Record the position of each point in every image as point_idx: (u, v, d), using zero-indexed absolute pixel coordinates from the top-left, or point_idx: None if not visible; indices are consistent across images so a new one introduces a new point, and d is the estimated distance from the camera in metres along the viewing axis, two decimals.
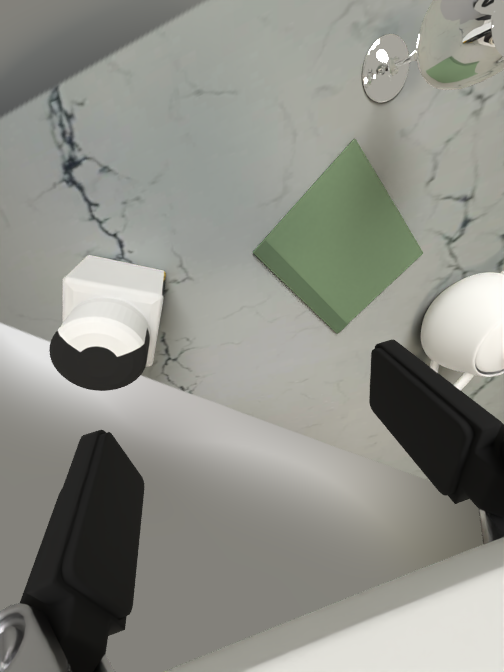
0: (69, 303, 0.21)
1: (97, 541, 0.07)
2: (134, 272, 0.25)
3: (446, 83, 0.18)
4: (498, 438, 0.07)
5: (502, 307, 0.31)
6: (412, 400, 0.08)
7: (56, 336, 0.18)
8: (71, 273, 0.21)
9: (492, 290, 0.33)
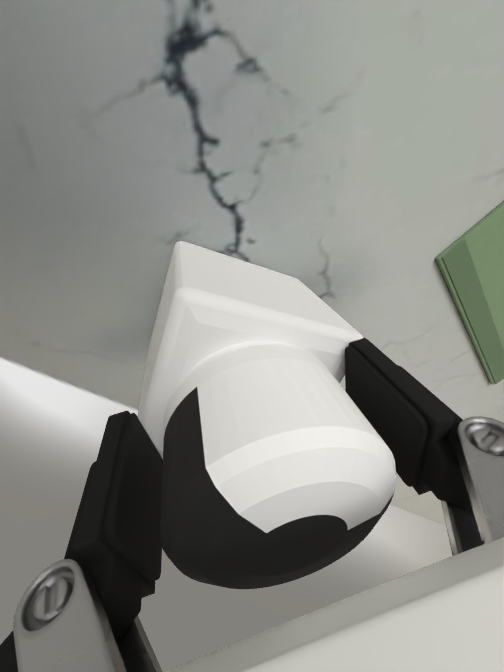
0: (179, 350, 0.09)
1: (130, 509, 0.07)
2: (272, 280, 0.13)
3: None
4: (454, 431, 0.07)
5: None
6: (379, 396, 0.09)
7: (202, 488, 0.05)
8: (187, 277, 0.09)
9: None
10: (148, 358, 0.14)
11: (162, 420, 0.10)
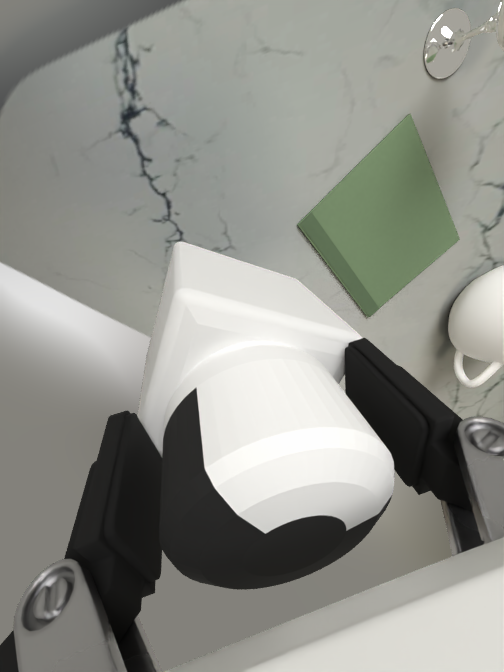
0: (179, 351, 0.09)
1: (130, 509, 0.07)
2: (271, 281, 0.13)
3: None
4: (454, 431, 0.07)
5: None
6: (379, 395, 0.09)
7: (201, 489, 0.05)
8: (186, 278, 0.09)
9: None
10: (148, 358, 0.14)
11: (162, 421, 0.10)
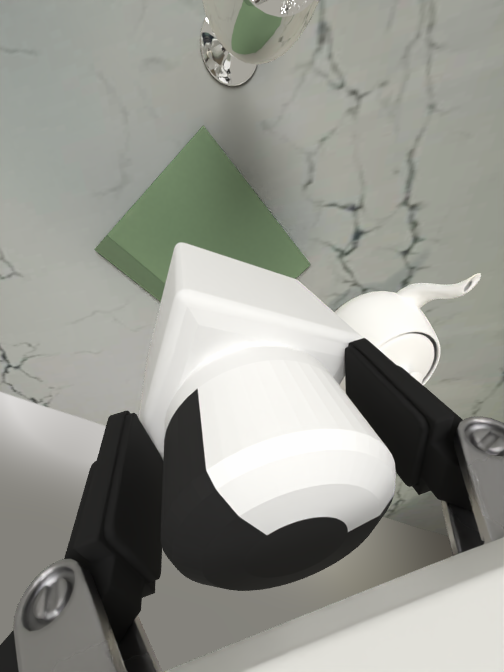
0: (180, 352, 0.09)
1: (130, 509, 0.07)
2: (272, 282, 0.13)
3: (237, 51, 0.15)
4: (454, 431, 0.07)
5: (383, 331, 0.28)
6: (379, 395, 0.09)
7: (202, 490, 0.05)
8: (187, 279, 0.09)
9: (378, 311, 0.29)
10: (148, 359, 0.14)
11: (163, 422, 0.10)
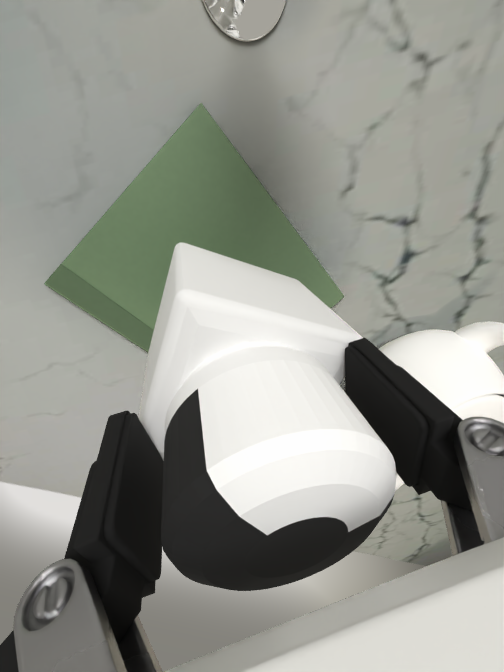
0: (180, 352, 0.09)
1: (130, 509, 0.07)
2: (272, 282, 0.13)
3: None
4: (454, 431, 0.07)
5: (449, 392, 0.20)
6: (379, 395, 0.09)
7: (203, 490, 0.05)
8: (188, 280, 0.09)
9: (438, 362, 0.22)
10: (149, 359, 0.14)
11: (163, 422, 0.10)
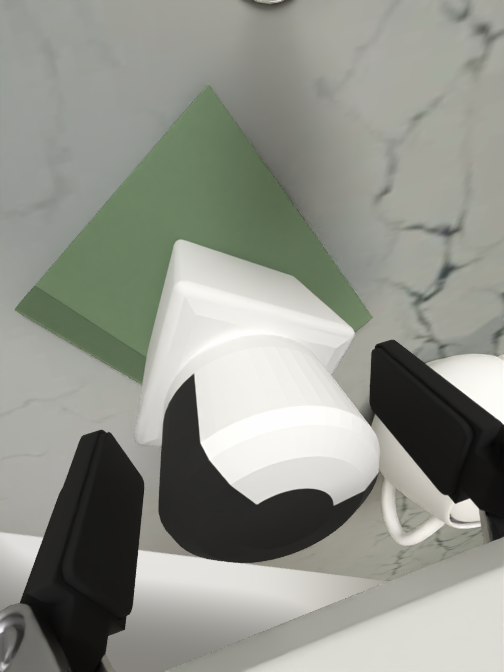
0: (178, 340, 0.09)
1: (97, 541, 0.07)
2: (268, 277, 0.14)
3: None
4: (498, 438, 0.07)
5: None
6: (412, 400, 0.08)
7: (197, 461, 0.06)
8: (185, 272, 0.09)
9: (486, 396, 0.18)
10: (149, 352, 0.14)
11: (162, 408, 0.10)
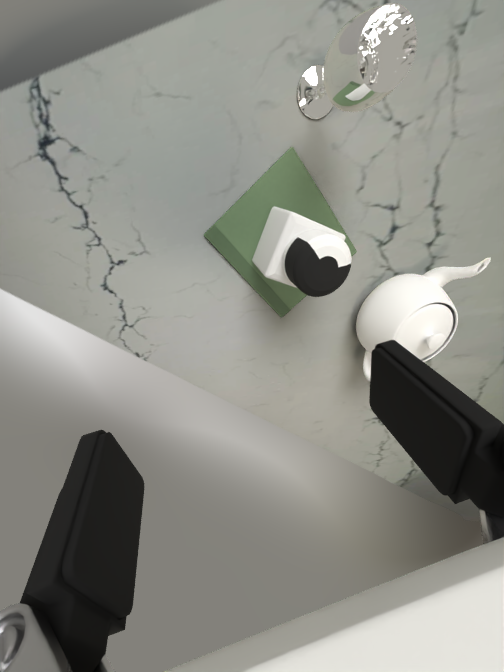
0: (288, 232, 0.29)
1: (97, 541, 0.07)
2: None
3: (342, 106, 0.24)
4: (498, 438, 0.07)
5: (415, 301, 0.37)
6: (412, 400, 0.08)
7: (306, 245, 0.26)
8: (290, 211, 0.29)
9: (410, 287, 0.38)
10: (259, 253, 0.34)
11: (278, 259, 0.30)
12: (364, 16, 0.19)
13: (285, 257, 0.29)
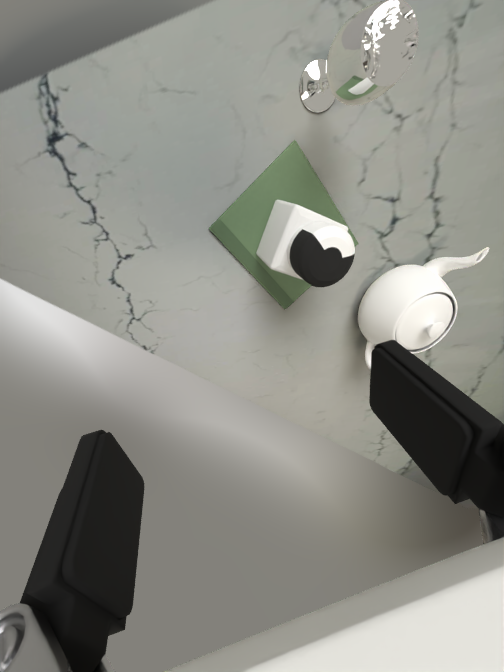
0: (293, 224, 0.30)
1: (97, 541, 0.07)
2: None
3: (346, 100, 0.24)
4: (498, 438, 0.07)
5: (416, 291, 0.38)
6: (412, 400, 0.08)
7: (311, 237, 0.27)
8: None
9: (411, 277, 0.39)
10: (264, 246, 0.35)
11: (283, 251, 0.31)
12: (367, 12, 0.20)
13: (290, 249, 0.29)
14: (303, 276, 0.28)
